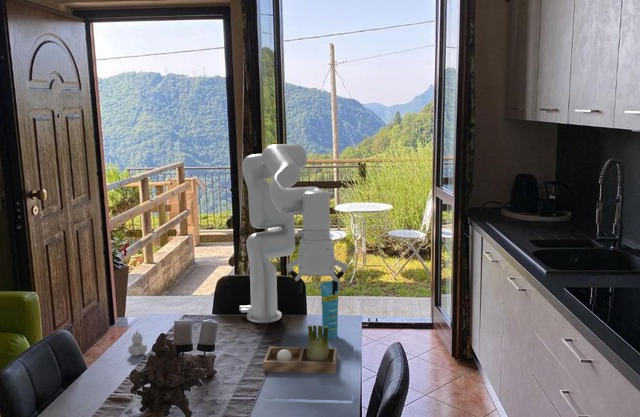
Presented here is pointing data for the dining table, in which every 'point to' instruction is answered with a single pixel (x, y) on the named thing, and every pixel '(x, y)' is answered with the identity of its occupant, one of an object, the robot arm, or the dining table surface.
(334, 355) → the wooden compartment tray
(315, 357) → the fennel bulb
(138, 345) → the grey figurine
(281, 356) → the cream egg
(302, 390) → the dining table surface
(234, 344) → the dining table surface
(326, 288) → the tube
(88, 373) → the dining table surface
